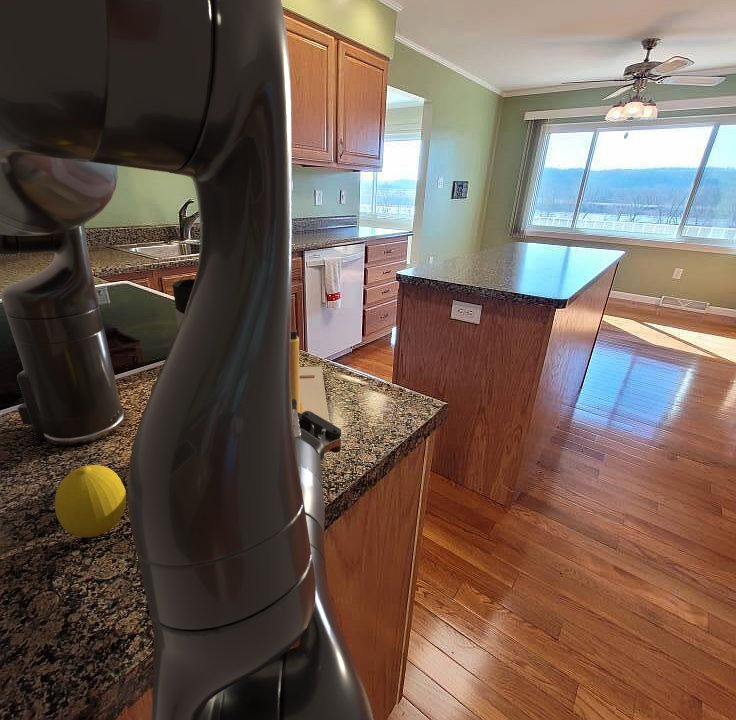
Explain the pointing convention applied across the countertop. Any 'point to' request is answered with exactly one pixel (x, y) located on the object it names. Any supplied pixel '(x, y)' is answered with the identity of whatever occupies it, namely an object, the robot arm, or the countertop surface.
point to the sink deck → (313, 391)
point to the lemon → (90, 501)
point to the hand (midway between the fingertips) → (285, 402)
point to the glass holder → (182, 297)
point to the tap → (295, 369)
